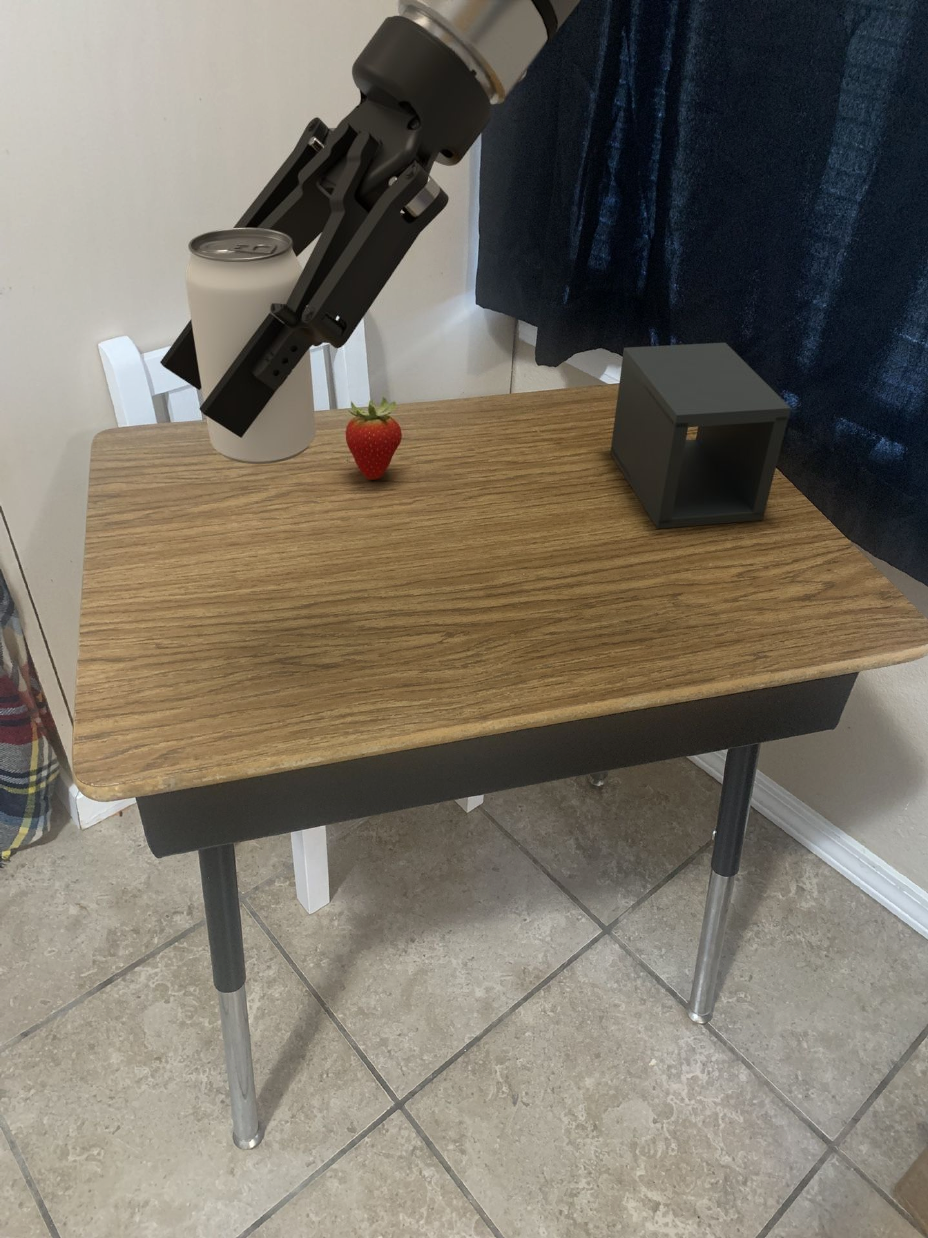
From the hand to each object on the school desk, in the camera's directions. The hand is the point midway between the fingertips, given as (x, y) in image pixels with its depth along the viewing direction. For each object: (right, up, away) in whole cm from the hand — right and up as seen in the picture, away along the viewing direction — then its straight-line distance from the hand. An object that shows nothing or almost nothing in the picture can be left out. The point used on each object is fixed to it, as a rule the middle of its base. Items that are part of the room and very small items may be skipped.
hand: (199, 398), depth 57 cm
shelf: (+36, 0, +36) cm, 51 cm away
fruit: (+7, 0, +36) cm, 36 cm away
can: (+3, -2, +4) cm, 5 cm away
